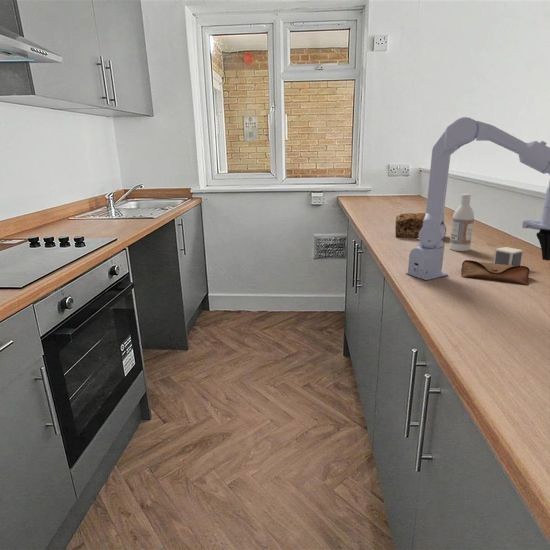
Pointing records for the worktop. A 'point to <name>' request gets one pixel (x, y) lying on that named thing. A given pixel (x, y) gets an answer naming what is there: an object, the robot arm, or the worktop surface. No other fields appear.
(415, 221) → the bread
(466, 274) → the sunglasses case
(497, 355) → the worktop surface
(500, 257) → the cube
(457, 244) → the bath foam
